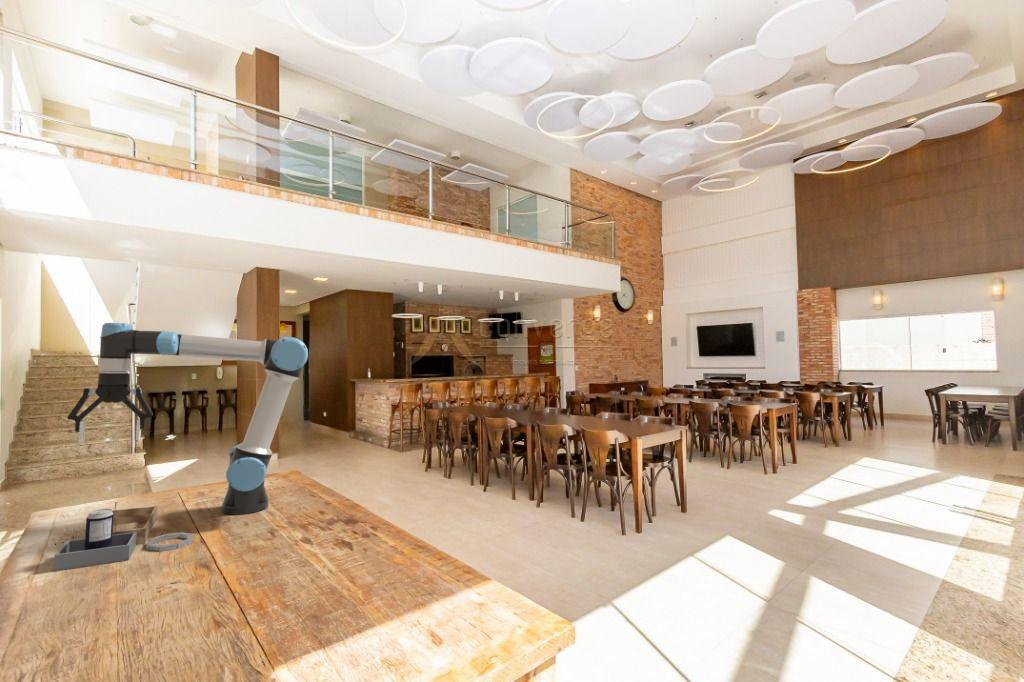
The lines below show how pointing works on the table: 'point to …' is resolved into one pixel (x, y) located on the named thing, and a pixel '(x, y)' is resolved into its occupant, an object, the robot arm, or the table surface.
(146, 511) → the parts crate
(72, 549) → the bus tray
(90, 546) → the beverage can
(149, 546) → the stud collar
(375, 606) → the table surface
